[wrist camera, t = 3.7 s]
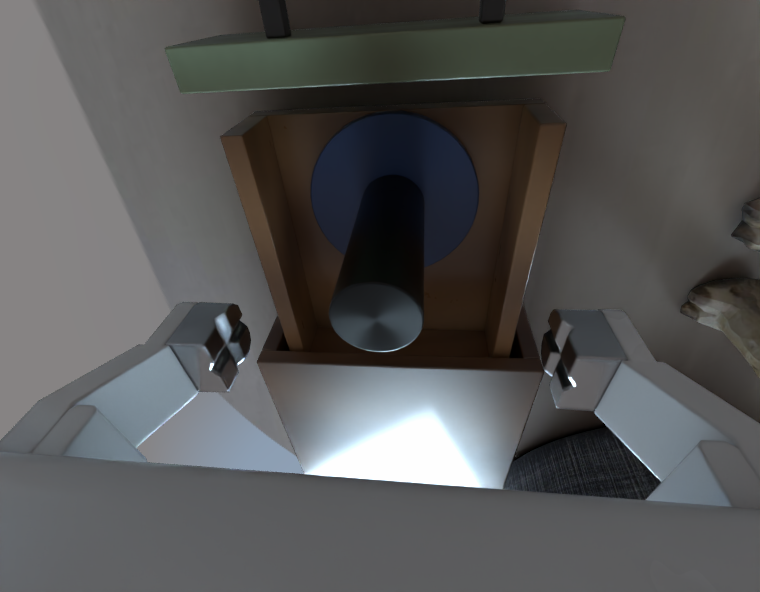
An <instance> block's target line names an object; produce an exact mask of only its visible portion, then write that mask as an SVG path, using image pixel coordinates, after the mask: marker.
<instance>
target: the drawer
mask: <svg viewBox="0 0 760 592" xmlns="http://www.w3.org/2000/svg"><path fill="white" fill-rule="evenodd" d="M258 1H259V5H260V10H261V15H262V19H263V24H264V29H265V32H256V33H242V34H228V35H219V36H214V37H210V38H205V39H200V40H196V41H191V42H187V43H182V44H177V45H173V46H168V47H166V48H165V52H166V54H167V57H168V60H169V63H170V65H171V68H172V71H173V73H174V76H175V79H176V82H177V84H178V87H179V90H180V92H181V93H182V94H191V93H210V92H229V91H248V90H267V89H286V88H305V87H324V86H343V85H362V84H381V83H400V82H420V81H439V80H458V79H477V78H496V77H515V76H534V75H553V74H572V73H591V72H608V71H610V69H611V66H612V63H613V60H614V56H615V53H616V49H617V46H618V43H619V39H620V36H621V32H622V29H623V25H624V22H625V16H622V15H614V14H606V13H598V12H590V11H582V10H567V11H553V12H539V13H524V14H510V15H504V11H505V2H506V0H480V9H479V17H468V18H454V19H440V20H426V21H412V22H397V23H383V24H369V25H355V26H341V27H327V28H313V29H299V30H290V25H289V19H288V14H287V8H286V2H285V0H258ZM389 110H395V111H407V112H413V113H417V114H420V115H423V116H426V117H428V118H430V119H432V120H435V121H437V122H438V123H440V124H441V125H443V126H444V127H446V128H447V129H448V130H450V131H451V132H452V133H453V134H454V135H455V136H456V137H457V138H458V139H459V141H460V142H461V143H462V144H463V145H464V147H465V149H466V150H467V152H468V154H469V155H470V157H471V160H472V162H473V165H474V167H475V171H476V175H477V179H478V186H479V203H478V209H477V213H476V216H475V219H474V222H473V224H472V226H471V228H470V230H469V232H468V234H467V235H466V237H465V238H464V240H463V241H462V242H461V243H460V244H459V245H458V247H457V248H456V249H454V250H453V251H452V252H451V253H450V254H449V255H447V256H446V257H444V258H443V259H441V260H440V261H438V262H436V263H434V264H432V265H429V266H427V267H424V325H423V328H422V330H421V332H420V334H419V335H418V337H417V338H416V339H415V340H414V341H413V342H411V343H410V344H409V345H407V346H405V347H403V348H400V349H397V350H393V351H387V352H375V351H368V350H364V349H360V348H357V347H355V346H353V345H351V344H349V343H347V342H346V341H345V340H343V339H342V338H341V337H340V336H339V335H338V334H337V333H336V332H335V330H334V329H333V327H332V325H331V322H330V319H329V307H330V303H331V300H332V296H333V293H334V290H335V286H336V283H337V280H338V277H339V273H340V270H341V267H342V263H343V260H344V257H345V255H343V254H342V253H341V252H340V251H338V250H337V249H336V248H335V247H334V246H333V245H332V244H331V243H330V242H329V241H328V239H327V238H326V236H325V235H324V234H323V232H322V230H321V229H320V227H319V225H318V223H317V220H316V218H315V215H314V212H313V208H312V203H311V195H310V191H311V179H312V173H313V170H314V167H315V164H316V162H317V159H318V157H319V155H320V153H321V152H322V150H323V149H324V147H325V146H326V144H327V143H328V141H329V140H330V139H331V138H332V137H333V136H334V135H335V133H337V132H338V131H339V130H340V129H341V128H343V127H344V126H345V125H347V124H348V123H350V122H352V121H353V120H355V119H357V118H360V117H362V116H365V115H367V114H371V113H375V112H380V111H389ZM566 126H567V124H566V122H565V121H564V120H563V119H562V118H561V117H559V116H558V115H557V114H556V113H555V112H554V111H553V110H552V109H551V108H550V107H549V106H548V105H547V104H546V103H545V102H544V101H543V100H542V99H541V98H535V99H513V100H491V101H469V102H447V103H425V104H403V105H381V106H360V107H338V108H316V109H294V110H272V111H255V112H254V113H252V114H251V115H249V116H248V117H247V118H245V119H244V120H242V121H241V122H240V123H238V124H237V125H235V126H234V127H233V128H231V129H230V130H228V131H227V132H226V133H224V134H223V135H221V136H220V138H221V141H222V144H223V147H224V150H225V154H226V157H227V160H228V163H229V166H230V169H231V172H232V175H233V178H234V181H235V184H236V187H237V190H238V193H239V197H240V200H241V203H242V206H243V209H244V212H245V215H246V218H247V221H248V224H249V227H250V230H251V233H252V236H253V239H254V243H255V246H256V249H257V252H258V255H259V258H260V261H261V264H262V267H263V270H264V273H265V276H266V279H267V282H268V286H269V289H270V292H271V295H272V298H273V301H274V304H275V307H276V310H277V313H278V316H279V319H280V322H281V325H282V328H283V332H284V335H285V338H286V341H287V344H288V347H289V350H290V351H297V352H329V353H362V354H394V355H427V356H460V357H492V358H509V355H510V351H511V347H512V343H513V339H514V335H515V331H516V327H517V323H518V319H519V315H520V311H521V307H522V303H523V299H524V295H525V291H526V287H527V283H528V279H529V275H530V271H531V267H532V263H533V259H534V255H535V251H536V247H537V243H538V239H539V235H540V231H541V227H542V223H543V218H544V214H545V210H546V206H547V202H548V198H549V194H550V190H551V186H552V182H553V178H554V174H555V170H556V166H557V162H558V158H559V154H560V150H561V146H562V142H563V138H564V134H565V130H566Z"/></svg>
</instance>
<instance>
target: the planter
mask: <svg viewBox="0 0 760 592" xmlns="http://www.w3.org/2000/svg"><path fill="white" fill-rule="evenodd" d="M660 483H661V481H660V480H659V479H658V478H657V477H656V476H655V475H654V474H653V473H652V472H651V471H650V470H649V469H648V468H647V467H646V466H645V465H644V464H643V463H642V462H641V461H640V460H639V459H638V458H637V457H636V456H635V455H634V454H633V453H632V451H631V450H630V449H629V448H628V447H627V446H626V445H625V444H624V443H623V442H622V441H621V440H620V439H619V438H618V437H617V436H616V435H615V434H614V433H613V432H612V431H611V430H610V429H609V428H608V427H606V428H601V429H596V430H591V431H587V432H583V433H579V434H575V435H572V436H568V437H565V438H562V439H559V440H556V441H554V442H551V443H548V444H546V445H543V446H541V447H539V448H537V449H535V450H533V451H531V452H529V453H527V454H525V455H523V456H522V457H520V458H519V459H517V460H516V461H514V462H513V463H512V464H511V467H510V470H509V473H508V476H507V478H506V481H505V484H504V487H503V489H505V490H518V491H531V492H544V493H558V494H571V495H584V496H597V497H610V498H624V499H637V500H646V499H647V497H648V496H649V495H650V494H651V493H652V492H653V491H654V490H655V489H656V488H657V486H658V485H659V484H660Z"/></svg>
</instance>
